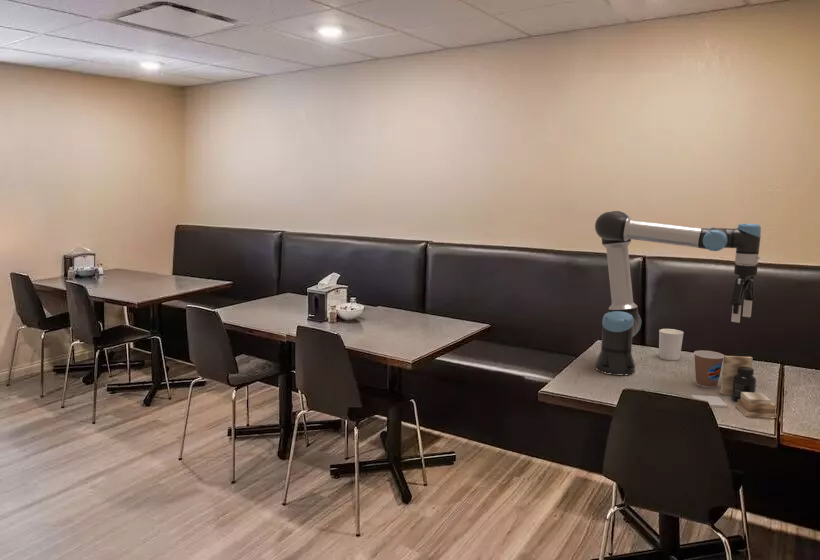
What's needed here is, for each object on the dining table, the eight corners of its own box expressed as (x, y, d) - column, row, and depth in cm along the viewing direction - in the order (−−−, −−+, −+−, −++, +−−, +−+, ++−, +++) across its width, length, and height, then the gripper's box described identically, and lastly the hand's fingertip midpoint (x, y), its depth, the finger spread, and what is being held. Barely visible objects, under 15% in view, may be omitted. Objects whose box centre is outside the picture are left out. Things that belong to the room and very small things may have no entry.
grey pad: (699, 406, 197) (699, 403, 197) (691, 397, 206) (691, 394, 206) (727, 407, 196) (727, 405, 195) (718, 398, 204) (718, 396, 204)
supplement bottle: (758, 405, 198) (761, 371, 196) (738, 404, 198) (741, 371, 197) (747, 398, 205) (750, 365, 203) (727, 397, 205) (730, 365, 203)
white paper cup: (685, 361, 250) (687, 334, 248) (662, 361, 250) (664, 333, 249) (675, 354, 260) (677, 328, 258) (653, 354, 260) (655, 328, 258)
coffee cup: (708, 390, 213) (711, 359, 211) (685, 382, 222) (687, 352, 220) (728, 387, 217) (730, 356, 215) (704, 379, 226) (706, 349, 224)
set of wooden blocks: (746, 416, 188) (750, 375, 186) (720, 392, 210) (723, 355, 208) (776, 418, 186) (780, 376, 184) (747, 394, 209) (750, 356, 207)
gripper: (747, 268, 208) (741, 326, 211) (766, 262, 225) (761, 316, 228) (724, 266, 213) (719, 322, 216) (745, 261, 230) (740, 313, 234)
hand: (741, 319), depth 222 cm, fingers open, 13 cm apart
